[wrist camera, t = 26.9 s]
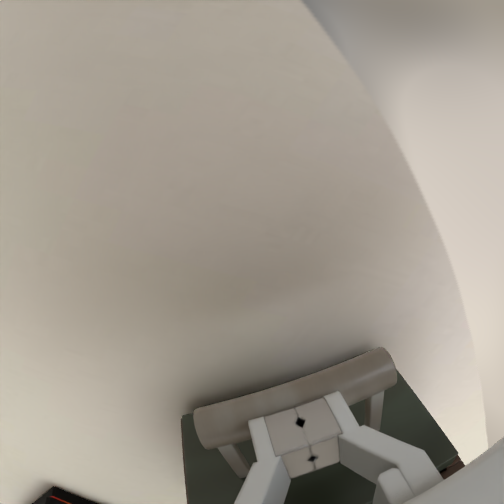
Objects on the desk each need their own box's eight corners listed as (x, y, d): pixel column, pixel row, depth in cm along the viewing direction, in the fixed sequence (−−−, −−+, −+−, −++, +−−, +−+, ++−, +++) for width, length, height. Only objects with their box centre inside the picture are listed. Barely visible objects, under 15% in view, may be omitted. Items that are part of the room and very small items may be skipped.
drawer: (140, 350, 13) (129, 513, 6) (381, 274, 14) (494, 383, 7) (244, 496, 21) (263, 572, 14) (373, 453, 22) (409, 521, 15)
